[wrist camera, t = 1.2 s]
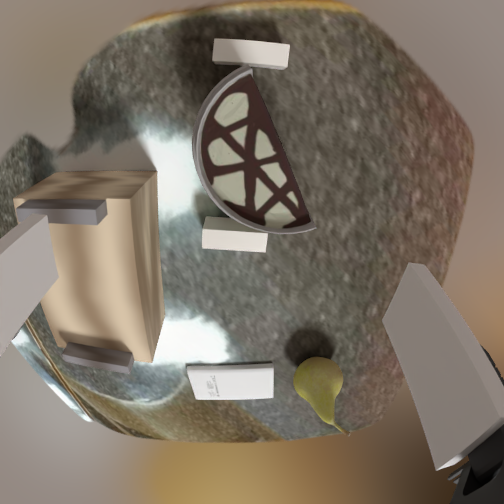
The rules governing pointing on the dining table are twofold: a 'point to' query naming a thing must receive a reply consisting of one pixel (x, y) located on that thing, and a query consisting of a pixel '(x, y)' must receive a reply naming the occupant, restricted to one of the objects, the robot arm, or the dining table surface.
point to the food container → (246, 159)
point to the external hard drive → (232, 381)
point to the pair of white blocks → (256, 55)
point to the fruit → (320, 386)
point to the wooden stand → (102, 264)
